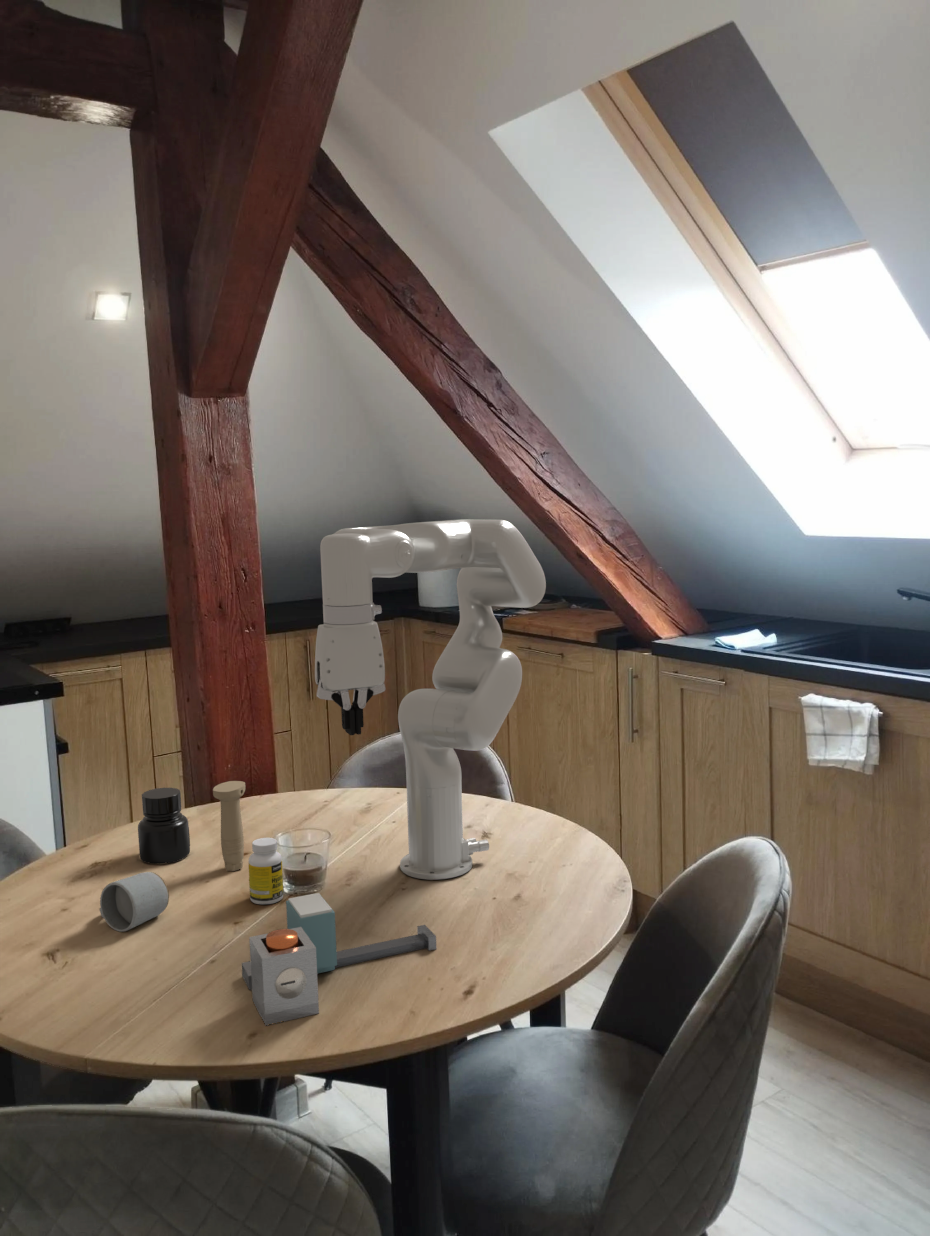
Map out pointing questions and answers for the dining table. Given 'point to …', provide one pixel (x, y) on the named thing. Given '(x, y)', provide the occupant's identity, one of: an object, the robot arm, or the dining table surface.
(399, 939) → the rail
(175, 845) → the ink bottle
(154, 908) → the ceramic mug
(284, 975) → the grey button box
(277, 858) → the supplement bottle
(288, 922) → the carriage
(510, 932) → the dining table surface
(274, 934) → the plunger
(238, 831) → the handle
